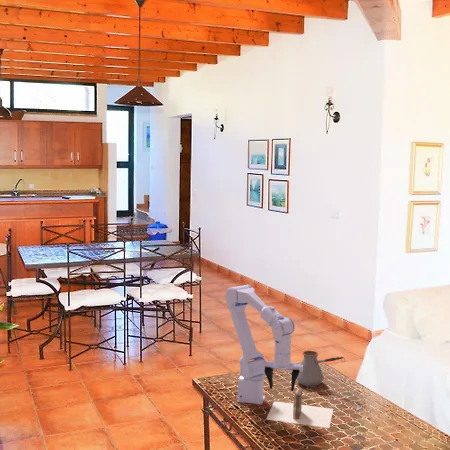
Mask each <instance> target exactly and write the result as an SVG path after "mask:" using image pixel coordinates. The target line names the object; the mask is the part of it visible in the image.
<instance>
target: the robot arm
mask: <svg viewBox="0 0 450 450" xmlns="http://www.w3.org/2000/svg"><path fill="white" fill-rule="evenodd" d="M224 298H225V301H226V304H227V307H228V310H229V313H230V317H231V320H232V322H233V326H234V329H235V332H236V336H237V339H238V343H239V346H240V349H241V353H242V356H241V357H240V358H239V359H238V363H239V368H240V374H241V375H239V378H238V382H237V383H238V384H237V400H236V402H238V403H244V404H246V403H249V404H257V405H263V402H264V401H265V399H266V397H267V396H266V395H264V380H265V379H264V378H267V381H268V385H269V389H270V390H272V389H273V386H274V380H273V379H274V378H273V375H274V370H285V371H291V385H290V391H291V392H294V390H295V384H296V381H297V377H298V375H299V372H302V371H303V365H301V364H298V363H295V362H291V357H292V355H291V352H292V351H291V349H292V345H291V344H292V334H293V333H294V332H295V329H296V328H295V327H296V326H295V323H294V321H293V319H292V318H290V317H288V316H287V317H285V316H283V315H282V314H281V313H280V311H277V310H276V307H275V306H272V305H267V304H266V303H265V302H264V301H263V300H262V299H261V298H260V297H259V296H258V295H257V294H256V289H255V288H254V287H252V286H251V284H245V285H239V286H229V287H228V288H227V289H226V291H225V295H224ZM249 305H250V306H251V307H252V308H254V309H255V310H256V311H257V312H258V313H259V314H260V318H261V319H262V320H263V321H264V322H265V323H266V324H267V325H268V326H270V327H271V328H270V329H271V332H272V334H273V339H274V356H273V357H274V359H273V361H267V360H266V358H265V356H264V354H263V353H262V352H261V351H258V350H257V347H256V344H255V341H254V337H253V335H252V331H251V329H250V326H249V322H248V319H247V316H246V313H245V310H246V308H247V307H248V306H249Z"/></svg>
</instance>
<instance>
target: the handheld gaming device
mask: <svg viewBox="0 0 450 450" xmlns="http://www.w3.org/2000/svg"><path fill="white" fill-rule="evenodd" d="M328 397H331V398H339V397H338V396H336V395H333V394H330V395H328ZM362 409H363V407H362V406H360V405H358V404H355V412H357V411H359V410H362Z"/></svg>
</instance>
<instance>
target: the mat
mask: <svg viewBox="0 0 450 450" xmlns="http://www.w3.org/2000/svg"><path fill="white" fill-rule="evenodd" d="M293 405H294V403H290V402H283V401H275V400H274V401H273V403H272V405H271V408H270V409H269V412H268V414H267V417H266V418H265V420H268V421H276V422H282V423H288V424H295V425H304V426H311V427H317V428H318V427H319V428H325V429H326V428H327V429H330V427H331V422H332V416H333V412H334V408H329V407H323V406H322V407H320V406H313V405H305V404H302V407H301V414H300V417H299V419H293Z"/></svg>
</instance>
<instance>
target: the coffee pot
mask: <svg viewBox="0 0 450 450" xmlns="http://www.w3.org/2000/svg"><path fill="white" fill-rule="evenodd" d="M302 355H303V359H302V361H301V363H300V365H303V371H302V372H299V375H298V377H297V379H296V381H297V382H298V383H299V384H300V385H301V386H303V387H307V388H315V387H318V386H319V385H320V384H322V383H323V381H324V379H325V377H324V374H323V372H322V369H321V366H320V364H321V363H327V362H335V361H339V360H340V361H341V362H342V363H344V362H345V361H346V359H345V358H344V356H337V357H330V358H327V359H326V358H325V359H321V360H318V359H317V358H318V356H319V353H318V352H317V351H314V350H305V351H302ZM343 360H344V361H343Z"/></svg>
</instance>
